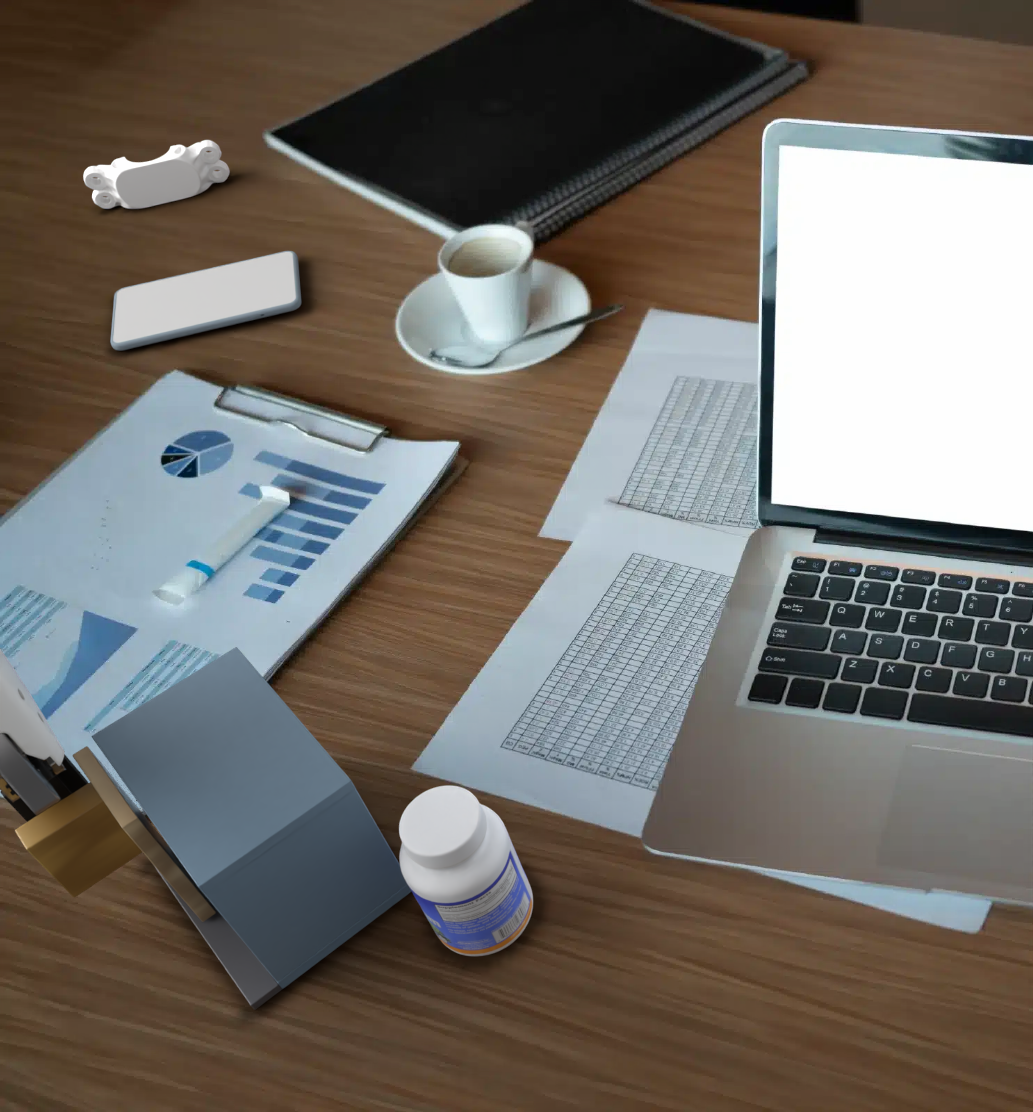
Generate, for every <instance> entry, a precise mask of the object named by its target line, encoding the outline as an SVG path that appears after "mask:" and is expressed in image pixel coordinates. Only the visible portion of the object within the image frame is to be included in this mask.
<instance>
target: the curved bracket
mask: <svg viewBox="0 0 1033 1112" xmlns="http://www.w3.org/2000/svg"><path fill="white" fill-rule="evenodd" d="M208 151H209V152H208ZM222 153H223V152H222V151H221V148H220V146H219V144H217V143H216V142H215V141H213V140H212V139H204V140H201V141H197V142H195V143H193V144H191V145H190V146H188V147H187V146H185V145H183V144H176V145H175V144H174V145H170V147H169V149H168V150H167V152H166V153H164V154H163V155H161V156H159V157H156V158H155V159H152V160H149V161H142V162H141V161H140V162H135V161H130V160H128V159H127V158H126V156H121V157H119V158H116V159H115V158H114V160H113V161H112V162H111V164H97V165H90V166H88V167H87V168H86V169H85V170H84V172H83V175H82V176H83V181H84V185H85V186H86V187H87V188H89V189H91V190H93V191H92V195H91V199H92V201H93V203H94V204H95V205H96V206H98V207H99V208H101V209H104V210H110V209H113V208H115V207H118V206H120V207H122V208H125V209H129V210H139V209H147V208H150V207H154V206H159V205H164V204H168V203H171V202H175V201H180V200H184V199H188V198H191V197H194V196H197V195H199V194H202V193H203V192H205V191H207V190H208V189H209V188H210V187H211V186H212V185H213V184H216V183H217V184H218V183H224V182H226V180H227V179H228V177H229V176H230V173H231V172H230V171H231V170H230V168H229V166H228V164H227V163H226V162H225V161H223V160H221V157H222Z"/></svg>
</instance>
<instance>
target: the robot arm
mask: <svg viewBox="0 0 1033 1112" xmlns="http://www.w3.org/2000/svg"><path fill="white" fill-rule="evenodd" d="M88 783H89V780H88V779H87V778H86V777H85V776H84V775H83V774H82V773H81V771H80V770H79V769H78V768H77V767H76V765H74V764H73V762H72V761H71V760H70V758H69V757H68V756H67V755H66V753H65V749H64V748H63V746H62V744H61V742H60V741H59V740H58V737H57V735H56V733H55V732H54V730H53V729H52V727H51V725H50V724H49V722H48V720H47V718H46V716H45V715H44V713H43V712H42V710H41V709H40V708H39V705H38V704H37V702H36V700H35V699H34V697H33V695H32V694H31V692H30V690H29V689H28V687H27V686H26V684H25V682H23V680H22V678H21V676H20V675H19V673H18V672H17V670H16V669H15V667H14V666H13V665H12V663H11V661H10V660H9V659H8V657H7V656H6V654H5V653H4V652H3V650H2V649H1V648H0V794H1V795H2V798H4V799H5V801H7V803H8V804H10V805H11V807H12V808H13V809H14V810H15V811H16V812H17V813H18V814H19V815H20V816H21V817H22V818H23V819H24V820H25V821H26V822H28V821H30V820H31V819H33V818H34V817H36V816H38V815H39V814H41V813H42V812H44V811H45V810H47V809H49V808H50V807H52V806H53V805H55V804H56V803H58V802H60V801H61V800H63V799H64V798H66V797H68V796H69V795H71V794H72V793H74V792H75V791H77V790H79V789H80V788H82V787H83V786H85V785H86V784H88Z"/></svg>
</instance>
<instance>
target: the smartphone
mask: <svg viewBox="0 0 1033 1112" xmlns="http://www.w3.org/2000/svg"><path fill="white" fill-rule="evenodd" d="M301 291H302V290H301V281H300V267H299V257H298V255H297V253H296V252H295V251H292V250H284V251H279V252H275V253H270V254H266V255H261V256H258V257H252V258H248V259H244V260H240V261H236V262H231V263H226V264H222V265H218V266H213V267H209V268H204V269H200V270H196V271H195V270H194V271H190V272H187V273H182V274H176V275H173V276H167V277H165V278H164V277H163V278H160V279H159V278H158V279H156V280H151V281H147V282H142V283H138V284H137V283H136V284H134V285H129V286H125V287H121V288H119V289H118V290H116V291H115V292H114V294H113V307H112V318H111V319H112V320H111V330H110V341H109V343H110V345H111V347H112V348H113V350H115V351H127V350H130V349H134V348H139V347H143V346H148V345H153V344H157V343H161V342H165V341H169V340H170V341H171V340H173V339H177V338H183V337H187V336H191V335H196V334H199V333H204V332H208V331H212V330H217V329H220V328H225V327H230V326H234V325H237V324H243V323H246V322H250V321H254V320H259V319H263V318H264V319H265V318H267V317H273V316H277V315H280V314H285V313H290V312H293V311H296V310H297V309H299V308H300V307H301V305H302V294H301V293H302V292H301Z"/></svg>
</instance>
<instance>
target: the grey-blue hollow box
mask: <svg viewBox="0 0 1033 1112" xmlns="http://www.w3.org/2000/svg"><path fill="white" fill-rule="evenodd" d="M91 739H92V740H93V741H94V743H95V744H96V745H97V747H98V748H99V750H100V751H101V752H102V754H103V755H104V757H105V758H106V760H107V761H108V763H110V765H111V766H112V768H113V769H114V771H115V772H116V773H117V775H118V776H119V778H120V780H121V781H122V782H123V783H124V785H125V787H127V789H128V790H129V791H130V793H131V795H132V796H133V798H134V799H135V800H136V802H137V803H138V805H139V806H140V808H141V809H142V810H143V812H144V813H145V815H146V817H147V818H148V819H149V821H150V822H151V824H152V825H153V827H154V828H155V829H156V830H157V831H158V833H159V834H160V835H161V836H162V838H163V839H164V840H165V841H166V842H167V844H168V845H169V847H170V848H171V849H172V851H173V852H174V854H175V855H176V856H177V858H178V859H179V861H180V862H181V864H182V865H183V866H184V868H185V869H186V871H187V872H188V873H189V875H190V876H191V878H192V879H193V880H194V882H195V883H196V885H197V886H198V887H199V889H200V890H201V891H202V893H203V894H204V896H205V897H206V898H207V900H208V901H209V903H210V904H211V906H212V907H213V908H214V910H215V911H216V913H215V914H214V915H212V916H211V917H210V918H208V919H207V920H205V921H204V922H202V921H201V920H200V918H199V917H198V916H197V915H196V914H195V913H194V911H193V910H192V909H191V908H190V907H189V906H188V904H187V903H186V902H185V901H184V900H183V899H182V897H181V896H180V895H179V894H178V893H177V892H176V890H175V889H174V888H173V887H172V886H171V885H170V883H169V882H168V881H167V880H166V879H165V878H164V876H163V875H162V874H161V873H160V872H159V871H158V869H157V868H156V867H155V866H154V865H153V864H152V862H151V861H150V863H151V864H152V865H153V867H154V869H155V870H156V872H157V873H158V874H159V876H160V877H161V879H162V880H163V881H164V883H165V884H166V886H167V888H168V889H169V891H170V892H171V893H172V895H173V896H174V897H175V899H176V900H177V902H178V903H179V905H180V906H181V908H182V909H183V910H184V912H185V913H186V915H187V916H188V918H189V919H190V921H191V922H192V923H193V925H194V926H195V928H196V929H197V931H198V932H199V934H200V935H201V936H202V938H203V940H204V941H205V943H206V945H208V947H209V948H210V950H211V951H212V953H213V954H214V955H215V957H216V958H217V960H218V961H219V962H220V964H221V965H222V967H223V968H224V970H225V971H226V973H227V974H228V975H229V977H230V979H231V980H232V981H233V982H234V984H235V986H236V987H237V989H238V990H239V992H240V993H241V994H242V996H243V997H244V998H245V1000H246V1001H247V1003H248V1004H249V1006H250V1007H251V1008H252V1010H257V1009H258V1008H259V1007H261V1006H263V1005H264V1004H265V1003H267V1002H268V1001H269V1000H270V999H272V998H273V997H274V996H275V995H277V994H278V993H279V992H281V991H283V989H285V988H286V987H288V986H289V985H290V984H292V983H293V982H294V981H295V980H297V979H298V978H299V977H301V976H302V975H303V974H305V973H306V972H308V971H309V970H311V968H312V967H314V966H316V965H317V964H318V963H319V962H321V961H323V959H324V958H326V957H328V955H329V954H332V952H333V951H336V950H337V948H339V947H340V946H342V945H343V944H344V943H345V942H347V941H348V940H350V939H352V937H354V936H355V935H357V934H358V933H359V932H360V931H362V930H363V929H364V928H366V927H367V926H368V925H369V924H371V923H372V922H373V921H375V920H376V919H377V918H379V917H380V916H381V915H383V914H384V913H386V912H387V911H388V910H389V909H390V908H392V907H393V906H394V905H396V904H397V903H398V902H400V901H401V900H402V899H404V898H405V897H406V896H408V895H409V894H410V893H412V891H411V889H410V888H409V886H408V884H407V882H406V880H405V879H404V876H403V874H402V872H401V868H400V862H399V861H398V859H397V858H396V856H395V854H394V852H393V850H392V849H391V847H390V845H389V843H388V841H387V840H386V838H385V837H384V834H383V833H382V832H381V830H380V827H379V826H378V825H377V822H376V821H375V819H374V817H373V816H372V814H371V812H370V811H369V809H368V806H367V805H366V803H365V802H364V800H363V799H362V796H361V795H360V793H359V791H358V790H357V787H356V786H355V784H354V783H353V781H352V779H351V778H350V777H349V776H348V775H347V774H346V772H345V771H344V770H343V769H342V768H341V766H340V765H339V764H338V763H337V762H336V761H335V759H333V758H332V756H331V755H330V754H329V752H328V751H327V750H326V749H325V748H324V747H323V746H322V744H321V743H320V742H319V741H318V740H317V738H316V737H315V736H314V735H313V734H312V733H311V731H309V729H308V728H307V727H306V726H305V725H304V723H303V722H302V721H301V720H300V719H299V718H298V716H297V715H296V714H295V713H294V712H293V710H292V709H291V708H290V707H289V706H288V704H287V703H286V702H285V701H284V700H283V698H281V697H280V695H278V693H277V692H276V691H275V689H274V688H273V687H272V686H271V685H270V684H269V682H267V680H266V679H265V678H264V677H263V676H262V675H261V673H260V672H259V671H258V670H257V669H256V667H255V666H254V665H253V664H252V662H250V661H249V659H248V658H247V657H246V656H245V654H244V653H243V651H241V650H240V649H239V647H237V646H234V647H233V648H231V649H230V650H228V651H227V652H225V653H224V654H222V655H220V656H219V657H217V658H215V659H213V660H212V661H211V662H209V663H208V664H206V665H204V666H203V667H201V668H200V669H198V670H196V671H195V672H193V673H191V674H189V675H188V676H187V677H186V676H185V678H183V679H182V680H180V681H178V682H176V683H175V684H174V685H172V686H171V687H169V688H167V689H166V690H164V691H162V692H160V693H159V694H157V695H156V696H153V697H152V698H151V699H149V700H147V701H146V702H144V703H143V704H141V705H139V706H137V708H135V709H133V710H131V711H129V712H128V713H126V714H125V715H123V716H121V717H120V718H118V719H116V720H115V721H114V722H112V723H110V724H109V725H107V726H105V727H104V728H102V729H101V730H99V731H97V732H96V733H94V734H93V735H91Z"/></svg>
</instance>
